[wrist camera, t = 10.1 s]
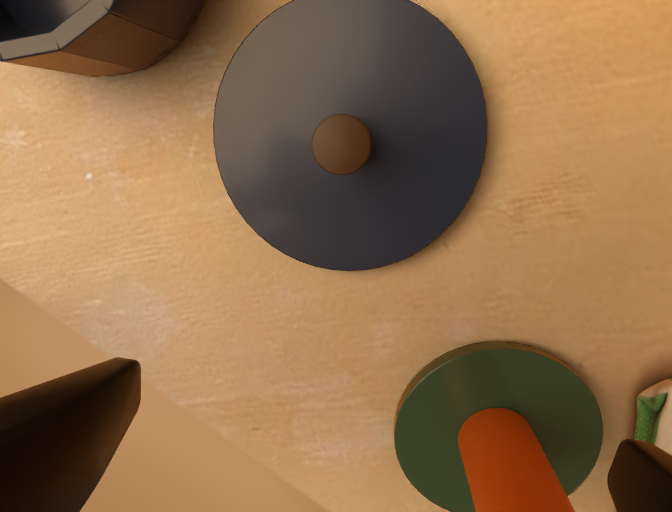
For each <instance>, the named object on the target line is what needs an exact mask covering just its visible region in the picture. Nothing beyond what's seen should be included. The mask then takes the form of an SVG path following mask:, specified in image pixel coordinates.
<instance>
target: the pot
mask: <svg viewBox="0 0 672 512" xmlns="http://www.w3.org/2000/svg"><path fill="white" fill-rule="evenodd" d="M203 3H204V0H0V61H2V62H8V63H14V64H20V65H26V66H32V67H38V68H44V69H50V70H56V71H62V72H68V73H74V74H80V75H86V76H92V77H98V76H112V75H122V74H127V73H131V72H135V71H138V70H141V69H143V68H145V67H148V66H150V65H152V64H154V63H155V62H157V61H158V60H160V59H162V58H163V57H165V56H166V55H167V54H168V53H169V52H170V51H172V50H173V49H174V48H175V47H176V46H177V45H178V44H179V43H180V42H181V40H182V39H183V38H184V37H185V36H186V35H187V33H188V32H189V30H190V29H191V27H192V25H193V24H194V22H195V21H196V19H197V17H198V15H199V12H200V10H201V8H202V6H203Z"/></svg>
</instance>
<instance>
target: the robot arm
mask: <svg viewBox="0 0 672 512" xmlns="http://www.w3.org/2000/svg"><path fill="white" fill-rule="evenodd" d="M140 400H141V366H140V363H139V362H138V361H137V360H132V359H126V358H114V359H111V360H108V361H105V362H102V363H99V364H96V365H93V366H91V367H88V368H85V369H82V370H79V371H76V372H73V373H70V374H68V375H65V376H62V377H59V378H56V379H53V380H51V381H48V382H45V383H42V384H39V385H36V386H33V387H31V388H27V389H24V390H22V391H19V392H16V393H13V394H10V395H7V396H4V397H2V398H0V512H79V511H80V510H81V508H82V507H83V506H84V504H85V503H86V501H87V500H88V498H89V497H90V495H91V494H92V492H93V490H94V489H95V487H96V485H97V484H98V482H99V481H100V479H101V477H102V475H103V474H104V472H105V470H106V468H107V466H108V465H109V463H110V461H111V459H112V457H113V455H114V453H115V451H116V449H117V448H118V446H119V444H120V442H121V440H122V438H123V437H124V435H125V433H126V431H127V429H128V427H129V426H130V424H131V422H132V420H133V418H134V416H135V415H136V413H137V411H138V408H139V405H140ZM608 488H609V491H610V494H611V496H612V499H613V502H614V504H615V507H616V510H617V512H672V455H670V454H669V453H667V452H665V451H664V450H662V449H660V448H659V447H657V446H655V445H654V444H652V443H650V442H647V441H641V440H634V439H625V440H623V441H622V442H621V443H620V445H619V447H618V449H617V452H616V455H615V457H614V460H613V462H612V465H611V468H610V470H609V473H608Z"/></svg>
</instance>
